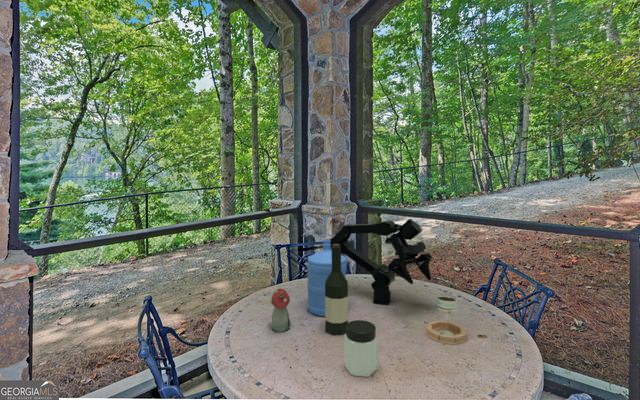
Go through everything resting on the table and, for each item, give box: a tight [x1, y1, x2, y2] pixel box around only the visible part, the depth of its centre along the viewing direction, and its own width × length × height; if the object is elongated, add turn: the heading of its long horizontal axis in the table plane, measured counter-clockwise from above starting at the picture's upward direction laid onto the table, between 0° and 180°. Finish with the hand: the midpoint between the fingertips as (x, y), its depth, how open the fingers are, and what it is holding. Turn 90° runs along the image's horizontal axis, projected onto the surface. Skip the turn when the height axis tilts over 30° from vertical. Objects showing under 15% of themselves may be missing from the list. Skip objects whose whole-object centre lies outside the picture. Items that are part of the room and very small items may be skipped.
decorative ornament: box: [270, 288, 291, 333], centre depth 115 cm, size 9×6×15 cm
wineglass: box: [435, 293, 459, 336], centre depth 109 cm, size 7×7×12 cm
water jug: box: [306, 239, 348, 317], centre depth 130 cm, size 16×16×28 cm
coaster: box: [425, 320, 468, 345], centre depth 109 cm, size 13×13×2 cm
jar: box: [344, 319, 378, 378], centre depth 90 cm, size 9×8×12 cm
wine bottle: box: [324, 244, 349, 336], centre depth 112 cm, size 8×8×30 cm
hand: (421, 281), depth 122 cm, fingers open, 9 cm apart
